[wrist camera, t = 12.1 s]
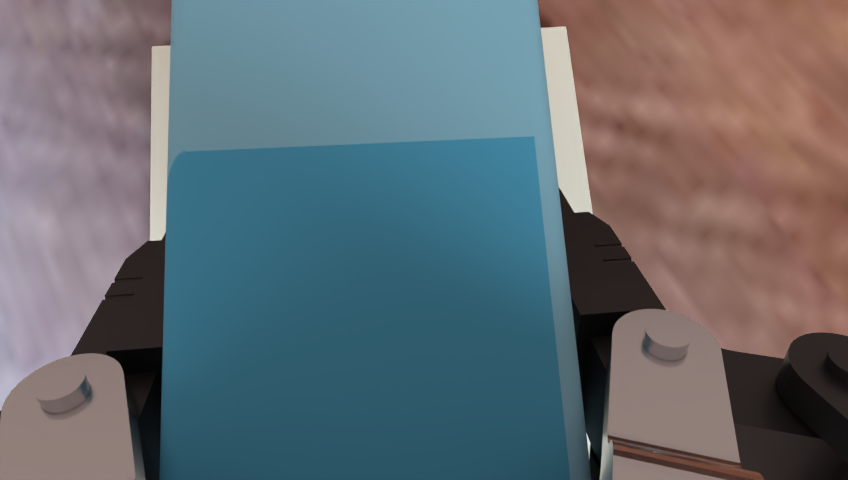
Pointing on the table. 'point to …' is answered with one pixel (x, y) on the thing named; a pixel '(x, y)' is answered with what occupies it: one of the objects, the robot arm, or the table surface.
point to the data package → (365, 246)
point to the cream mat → (561, 112)
